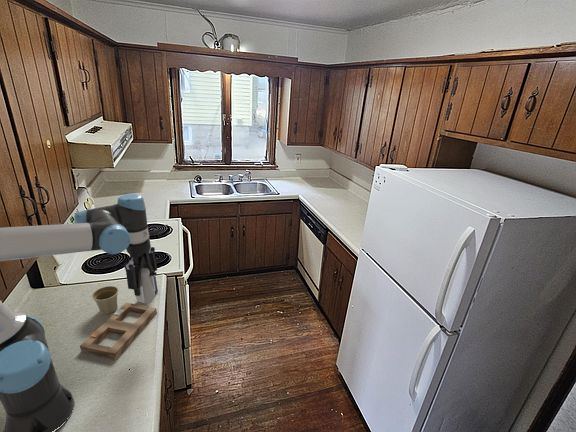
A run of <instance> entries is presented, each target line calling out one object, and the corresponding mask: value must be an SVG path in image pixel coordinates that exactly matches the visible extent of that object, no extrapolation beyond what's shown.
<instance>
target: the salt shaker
mask: <svg viewBox="0 0 576 432" xmlns="http://www.w3.org/2000/svg"><path fill="white" fill-rule="evenodd" d="M149 274H150V271H149V269H147V268H144V267H143V268H142V269H141V286H142V287H143V293H144V299H145V302H144V303H143V302H141V303H142V304H148V303H152V302H153V300H154V298H155V295H156V294H155V291H154V289H153V286H152V284H151V281H150V278H149Z"/></svg>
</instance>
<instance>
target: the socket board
mask: <svg viewBox="0 0 576 432" xmlns="http://www.w3.org/2000/svg"><path fill="white" fill-rule="evenodd" d="M157 310H158V309H157V307H153V306H147V305H142V304H137V303H130V302H125V303H124V304H122V306H120V308H118V309H116V311H114V312H113V314H112V315H111V316H110V317H109V318H108V319H107V320H106V321H105V322H104V323H102V325H101V326H99V327H98V328H97V329H96V330H95V331H94V332H92V333H91V335H90V336H89V337H87V339H85V340H84V341H83V342H82V343H81V344H80V345H79V348H80V352H83V353H86V352H87V354H92V355H97V356H100V355H101V357H105V356H106V357H105V358H110V357H111V359H114V358H117V357H120V355H121V354H123V352H124V351H125V350H126V349H125V348H127V347H128V346H129V345H130V344H131V343H132V342H133V341H134V339H135V338H136V337H137V336H138V335H139V334H140V333H141V331H142V330H143V329H144V328H145V327H146V326H147V325H148V324H149V323H150V321H151V320H152V319H153V318H154V317H155V316H156V315H157V313H158V311H157ZM129 313H134V314H135V313H136V314H141V316H139V317H138V319H137V320H135V321H134V323H132V322H128V321H124V318H125V317H126V316H128V315H129ZM139 332H140V333H139ZM109 333H110V334H115V335H116V334H117V335H121V336H120V338H118V340H117V341H116V342H115V343H114V344H113V345H112V346H106V345H103V344H102V345H101V344H99V343H100V342H101V341H102V340H103V339H104V338H105V337H106V336H107V335H108V334H109ZM124 349H125V350H124ZM117 359H118V358H117Z"/></svg>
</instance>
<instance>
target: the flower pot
mask: <svg viewBox="0 0 576 432" xmlns="http://www.w3.org/2000/svg"><path fill="white" fill-rule="evenodd" d="M118 293H119V287H117V286H114V285H107V286H103V287H100V288H98V289H96V290H95V291H93V293H92V294H91V298H92V299H93V300H94V302H95V303H96V305H97V308H98V310H99V312H100V314H102V315H109V314H112V313H115V312H116V311H117V310H118Z"/></svg>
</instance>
